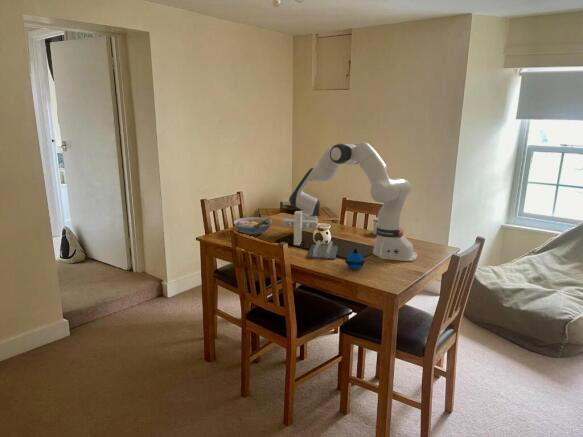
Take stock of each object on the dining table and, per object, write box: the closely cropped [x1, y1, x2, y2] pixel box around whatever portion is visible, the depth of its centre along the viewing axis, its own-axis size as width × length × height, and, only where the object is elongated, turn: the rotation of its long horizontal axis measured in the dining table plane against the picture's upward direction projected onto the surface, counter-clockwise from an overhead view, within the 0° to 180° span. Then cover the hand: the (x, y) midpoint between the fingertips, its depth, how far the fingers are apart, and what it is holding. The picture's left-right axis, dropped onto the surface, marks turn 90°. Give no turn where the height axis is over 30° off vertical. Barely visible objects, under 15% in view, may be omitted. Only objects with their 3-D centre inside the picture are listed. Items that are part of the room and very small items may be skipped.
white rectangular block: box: [293, 210, 303, 246], centre depth 239 cm, size 5×4×18 cm
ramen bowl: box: [233, 216, 273, 236], centre depth 258 cm, size 25×23×8 cm
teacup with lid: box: [372, 216, 378, 236], centre depth 263 cm, size 12×9×12 cm
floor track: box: [306, 239, 339, 261], centre depth 226 cm, size 20×14×4 cm
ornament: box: [345, 248, 365, 271], centre depth 202 cm, size 9×9×10 cm
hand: (298, 226), depth 238 cm, fingers open, 7 cm apart
